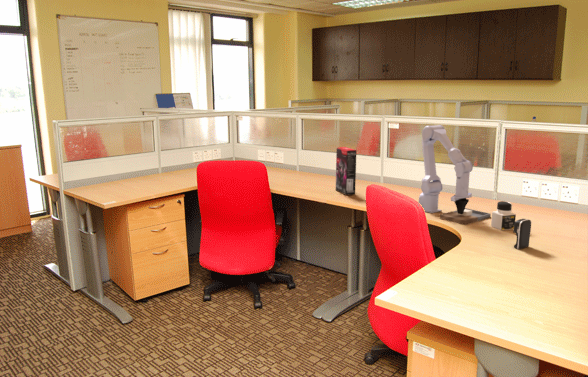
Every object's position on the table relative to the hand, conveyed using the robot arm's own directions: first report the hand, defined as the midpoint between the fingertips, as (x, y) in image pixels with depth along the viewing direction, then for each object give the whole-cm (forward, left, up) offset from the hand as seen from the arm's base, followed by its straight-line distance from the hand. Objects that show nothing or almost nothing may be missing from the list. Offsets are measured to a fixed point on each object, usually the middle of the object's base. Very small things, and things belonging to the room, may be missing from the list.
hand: (460, 213), depth 225 cm
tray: (0, +10, -3) cm, 10 cm away
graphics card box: (-79, 0, -3) cm, 79 cm away
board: (0, -1, -3) cm, 3 cm away
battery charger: (+38, -17, -3) cm, 42 cm away
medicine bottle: (+20, +3, -3) cm, 20 cm away
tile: (0, +4, -1) cm, 4 cm away
